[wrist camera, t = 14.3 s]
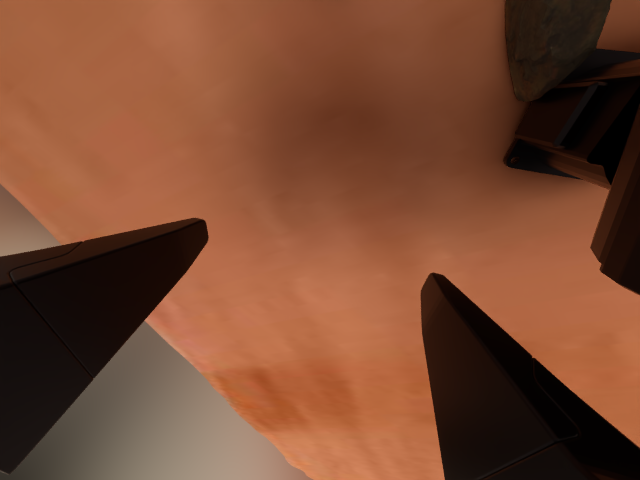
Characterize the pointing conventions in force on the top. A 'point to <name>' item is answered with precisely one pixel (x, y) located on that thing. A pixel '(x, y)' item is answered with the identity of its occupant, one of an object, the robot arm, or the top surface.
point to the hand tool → (550, 41)
